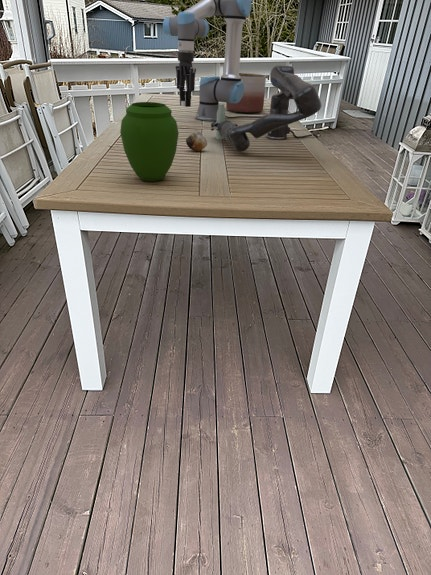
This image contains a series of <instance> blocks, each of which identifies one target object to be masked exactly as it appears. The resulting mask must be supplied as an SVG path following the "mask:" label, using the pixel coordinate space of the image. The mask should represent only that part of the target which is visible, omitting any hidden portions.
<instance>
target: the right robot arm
mask: <svg viewBox="0 0 431 575" xmlns="http://www.w3.org/2000/svg"><path fill="white" fill-rule="evenodd" d="M269 80H270V84H271V85H272V86H273V88H277V89H278V90H279V92H277V93H274V94H272V95H271V97H270V98H271V99H270V106H269V107H270V108H269V113H268V114H265V115H262V116H263V117H261V118H257V119H256V120H254V121H252V122H248V123H245V124H241V125H238V124H237V123H234V122H232V121H230V120H225V121H223V122H222V123H217V121H212V122H211V123H210V131H216V130H218V131H219V133H220V135H221V136H222V137H224V140H226V141H228V142H229V143H230V144H231V145H232V147H233V148H234V150H236V151H237V152H245V151H247V150H248V149H249V147H250V146H251V141H250V139H249V136H248V135H247V134H248V133H249V134H251V135H252V137H253V138H254V139H260V138H262V137H264V136H265V135H266V137H267V139H271V140H287V137H288V135H289V134H290V133H291V134H292V136H293V137H294V138H295V139H304V138H309V137H315V138H316V139H319V136H318V135H317V134H315V133H314V134H307V135H301V136H300V135H298V136H297V135H296V134H295V133H294V131H293V130H291V127H290V126H289V125H291V124H293V123H296V122H299V121H301V120H304V119H307V118H310V117H311V116H314V115H315V114H317V113H318V112H319V111H320V110H321V108H322V106H323V105H322V101H321V99H320V96H319V93H318V91H317V88H316V87H315V86H314V85H313V84H312V83H309V82H307V81H305V80H304V79H302V78H301V77H300V76H299V75H298V74H295V69H294V66H292V65H282V64H281V65H280V64H278V65H274V66H272V68H271V70H270V73H269ZM291 100H293V101H294V103H295V107H296V108H297V111H294V112H291V113H289V110H290V101H291ZM312 135H313V136H312Z"/></svg>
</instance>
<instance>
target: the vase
mask: <svg viewBox="0 0 431 575" xmlns="http://www.w3.org/2000/svg"><path fill="white" fill-rule="evenodd" d="M125 113H126V114H125V115H124V117H122V119H121V122H120V123H121V124H120V130H119V133H120V138H121V142H122V147H123V150H124V154H125V155H126V158H127V160H128V163H129V165H130V167H131V168H132V170H133V172H134V173H135V175H136V176H137V177H138V178H139V179H141V180H143V181H145V182H159V181H161V180H163V179H164V178H165V176H166V175H167V174H168V173H169V170H170V169H171V167H172V165H173V162H174V159H175V157H176V156H175V155H176V153H177V147H178V140H179V129H178V122H177V120H176V119H175V117H174V116H173V115H172V109H171V108H170V107H169V106H167V105H166V104H164V103H162V102H155V101H138V102H132V103H131V104H130V105H128V107H127V108H125Z"/></svg>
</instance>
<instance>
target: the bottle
mask: <svg viewBox="0 0 431 575" xmlns="http://www.w3.org/2000/svg"><path fill="white" fill-rule="evenodd" d="M225 107H226V103H219V109H218V111H217V121H216V122H217V123H222V122H223V121H226V117H225V116H226V109H225ZM215 139H216V140H225V138H224V137H222V136H221V135H220V133H219V131H218V130H216V129H215Z"/></svg>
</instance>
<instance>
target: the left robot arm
mask: <svg viewBox="0 0 431 575" xmlns="http://www.w3.org/2000/svg"><path fill="white" fill-rule="evenodd" d="M251 12H252V0H199V1H198V2H197V3H195V4H194V5H191V6H190V7H189V8H187V9H185V10H184V11H179V12H178V13H177V15H175V16H173V17H172V16H168V17H165V18H164V19H163V21H162V30H163V33H164V34H165V35H166V36H169V37H177V51H178V52H177V61H178V62H179V64H178V65H176V66H175V71H176V72H175V73H176V89H177V90H178V92H179V106H181V101H185V106H184V108H185V107H186V108H190V107H192V93H193V92H195V87H196V72H197V68H195V67H193V62H194V61H195V53H194V51H195V38H198V39H202V38H205V37H207V36H208V34H209V32H210V26H209V22H208V21H207V20H206V18H212V17H213V16H223V17H224V18H223V19H224V21H225V23H226V29H225V30H226V31H225V46H224V63H223V64H224V65H223V73H222V74H221V76H206V77H201V78H200V80H199V86H198V87H199V94H198V95H199V100H198V101H199V103H198V104H199V105H198V107H197V111H196V114H195V119H196V120H199V121H202V122H203V121H204V122H214V121H216V122H217V111H218V109H219V104H220V103H225V104H226V103H230V104H231V103H238V102H239V101H240V100H241V99H242V97H243V93H244V83H243V82H241V77H240V76H239V73H240V65H241V64H240V63H241V54H242V53H241V51H242V41H243V40H242V39H243V26H244V24H245V22H246V21H247V18H248V17H249V16H250V15H251ZM263 116H264V115H261V116H260V115H259V116H258V115H257V116H256V115H254V116H253V115H251V116H250V115H237V116H236V115H235V116H228V115H225V118H226V119H238V118H240V119H241V118H246V119H247V118H252V119H253V118H254V119H256V118H257V119H259V118H261V117H263Z"/></svg>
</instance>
